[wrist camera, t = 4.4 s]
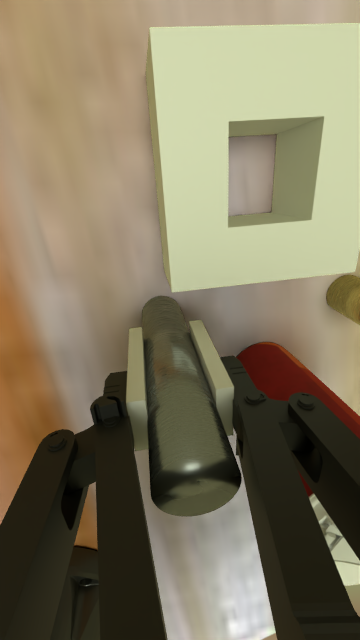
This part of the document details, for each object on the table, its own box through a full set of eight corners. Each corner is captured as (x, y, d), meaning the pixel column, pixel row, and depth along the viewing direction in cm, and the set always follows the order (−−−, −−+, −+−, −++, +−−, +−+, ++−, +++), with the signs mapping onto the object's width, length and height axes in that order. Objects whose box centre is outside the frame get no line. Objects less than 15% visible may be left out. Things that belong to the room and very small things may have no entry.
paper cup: (206, 396, 26) (273, 594, 13) (237, 322, 23) (358, 484, 10) (280, 407, 28) (400, 590, 15) (317, 340, 25) (501, 496, 12)
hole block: (163, 269, 20) (171, 292, 16) (145, 73, 16) (149, 27, 11) (309, 254, 21) (355, 271, 17) (333, 66, 17) (406, 21, 12)
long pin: (144, 334, 22) (155, 523, 10) (139, 298, 21) (145, 463, 8) (182, 329, 23) (240, 507, 10) (179, 293, 21) (242, 447, 9)
